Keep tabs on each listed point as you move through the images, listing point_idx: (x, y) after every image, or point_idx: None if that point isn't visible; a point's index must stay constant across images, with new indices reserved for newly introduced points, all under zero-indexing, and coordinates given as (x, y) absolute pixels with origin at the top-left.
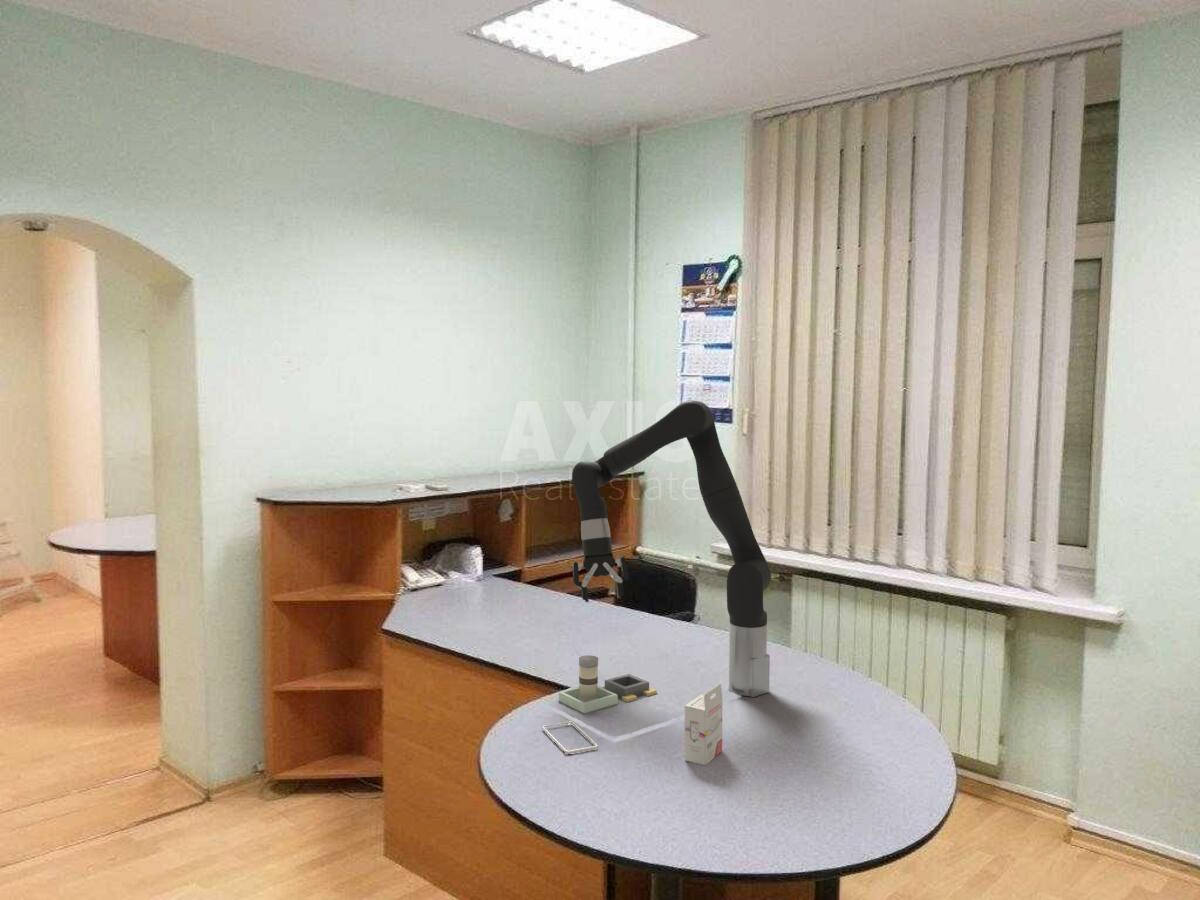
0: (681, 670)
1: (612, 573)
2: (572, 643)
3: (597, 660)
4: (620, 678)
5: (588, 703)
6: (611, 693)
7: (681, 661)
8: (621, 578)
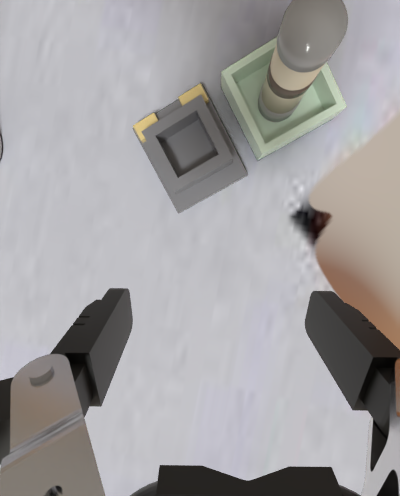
0: (66, 270)
1: (66, 466)
2: (240, 459)
3: (286, 10)
4: (196, 167)
5: None
6: (232, 81)
7: (57, 317)
8: (9, 407)
